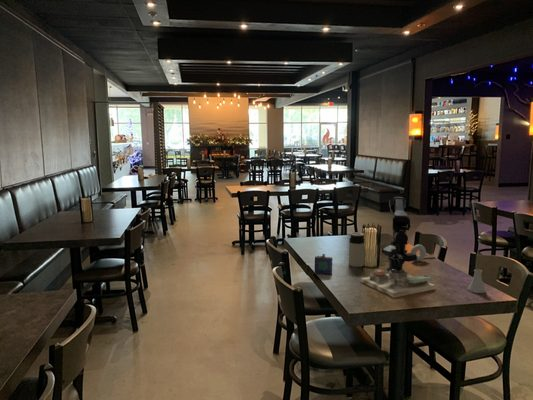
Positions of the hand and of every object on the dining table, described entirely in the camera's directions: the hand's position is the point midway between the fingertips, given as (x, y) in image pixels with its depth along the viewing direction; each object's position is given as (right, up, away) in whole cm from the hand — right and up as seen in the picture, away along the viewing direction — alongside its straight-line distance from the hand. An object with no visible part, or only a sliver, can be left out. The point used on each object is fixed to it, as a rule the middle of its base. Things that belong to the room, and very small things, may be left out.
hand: (398, 270), depth 209 cm
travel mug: (-15, -2, +26) cm, 30 cm away
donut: (+22, -1, +34) cm, 40 cm away
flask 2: (+32, -7, -14) cm, 36 cm away
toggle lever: (-6, -4, -16) cm, 17 cm away
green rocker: (+5, -2, -11) cm, 12 cm away
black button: (0, -2, 0) cm, 3 cm away
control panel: (-3, -6, -7) cm, 10 cm away
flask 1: (-36, -4, +11) cm, 38 cm away
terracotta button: (-11, -2, -5) cm, 12 cm away
